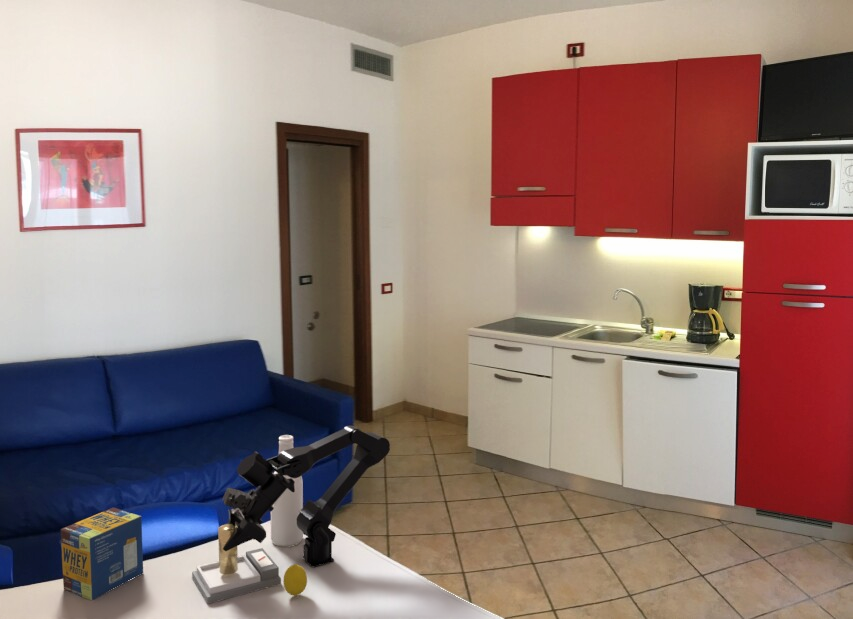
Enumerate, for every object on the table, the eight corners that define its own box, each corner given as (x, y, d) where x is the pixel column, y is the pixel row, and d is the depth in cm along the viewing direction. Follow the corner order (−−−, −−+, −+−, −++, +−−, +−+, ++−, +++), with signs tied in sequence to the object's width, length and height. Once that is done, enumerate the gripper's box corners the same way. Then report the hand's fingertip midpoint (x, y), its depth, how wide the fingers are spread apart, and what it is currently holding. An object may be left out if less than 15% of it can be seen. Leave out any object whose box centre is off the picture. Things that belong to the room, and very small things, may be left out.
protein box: (62, 590, 173) (59, 528, 171) (116, 563, 187) (114, 506, 185) (91, 601, 168) (88, 538, 166) (144, 573, 182) (142, 514, 180)
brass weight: (234, 564, 180) (233, 522, 179) (240, 571, 177) (239, 529, 175) (217, 568, 178) (216, 526, 177) (222, 576, 174) (221, 533, 173)
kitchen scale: (192, 577, 180) (191, 561, 179) (262, 560, 189) (261, 545, 189) (207, 603, 168) (207, 586, 168) (281, 584, 178) (280, 567, 177)
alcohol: (307, 543, 200) (307, 438, 196) (277, 550, 195) (276, 443, 192) (295, 531, 207) (295, 430, 204) (266, 538, 203) (265, 434, 199)
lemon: (302, 603, 169) (301, 571, 168) (279, 600, 170) (279, 568, 169) (310, 591, 174) (310, 560, 173) (288, 588, 176) (288, 557, 175)
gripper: (234, 464, 184) (191, 513, 181) (251, 490, 168) (204, 544, 164) (265, 489, 189) (223, 537, 185) (285, 516, 172) (239, 569, 169)
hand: (222, 546), depth 176 cm, fingers closed on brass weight, 4 cm apart
